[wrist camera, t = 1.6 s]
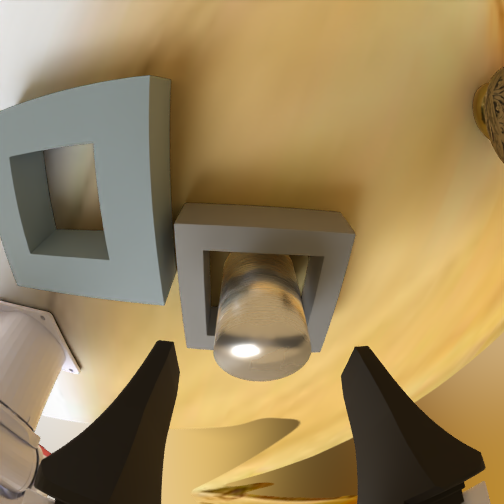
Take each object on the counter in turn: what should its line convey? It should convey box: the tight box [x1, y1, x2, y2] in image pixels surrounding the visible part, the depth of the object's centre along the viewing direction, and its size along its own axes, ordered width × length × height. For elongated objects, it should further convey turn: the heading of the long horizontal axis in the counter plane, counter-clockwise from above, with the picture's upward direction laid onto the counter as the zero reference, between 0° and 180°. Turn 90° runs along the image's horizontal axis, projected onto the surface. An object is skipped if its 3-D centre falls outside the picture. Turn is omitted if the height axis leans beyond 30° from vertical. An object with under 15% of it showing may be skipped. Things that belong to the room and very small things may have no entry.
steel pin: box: [213, 252, 311, 381], centre depth 14 cm, size 4×4×6 cm
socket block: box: [0, 75, 176, 305], centre depth 12 cm, size 10×10×3 cm
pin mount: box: [174, 203, 355, 352], centre depth 15 cm, size 8×8×2 cm
